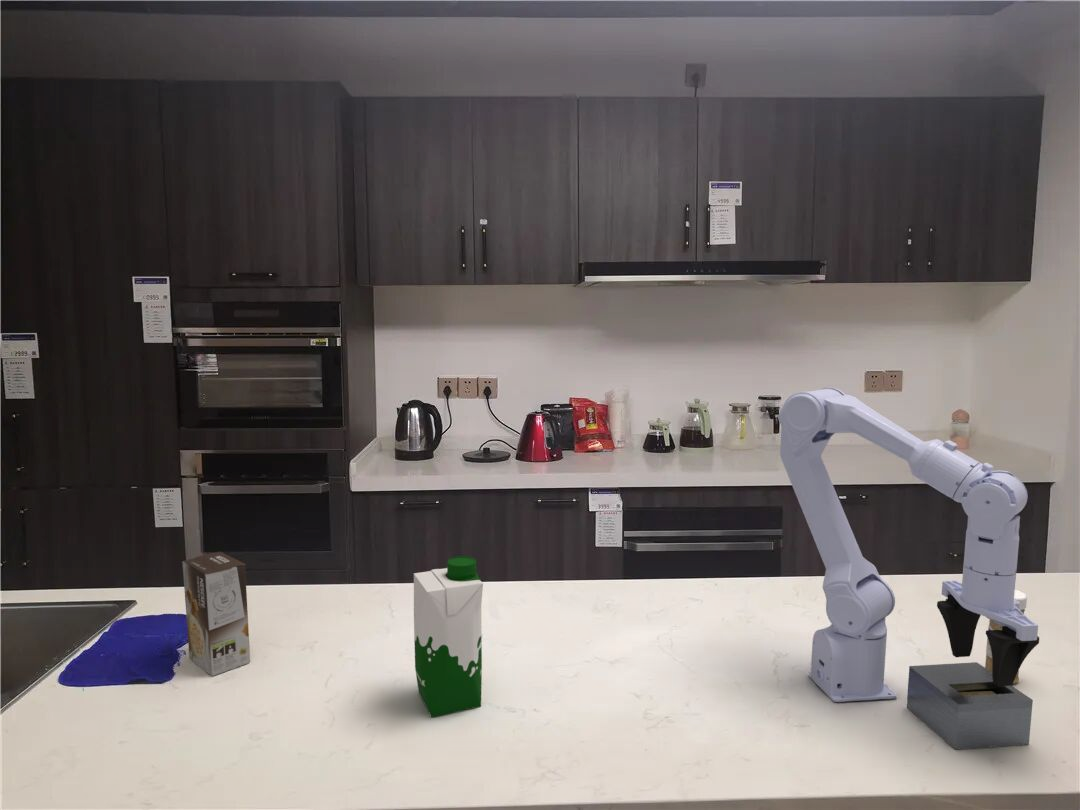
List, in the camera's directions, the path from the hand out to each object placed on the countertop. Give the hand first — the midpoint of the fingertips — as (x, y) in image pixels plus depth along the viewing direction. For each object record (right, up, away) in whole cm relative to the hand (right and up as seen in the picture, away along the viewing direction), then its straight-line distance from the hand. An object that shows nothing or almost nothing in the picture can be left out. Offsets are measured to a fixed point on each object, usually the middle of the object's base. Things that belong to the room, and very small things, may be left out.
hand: (981, 669), depth 94 cm
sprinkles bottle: (+12, -7, +15) cm, 20 cm away
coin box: (-1, -8, +2) cm, 9 cm away
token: (0, -9, +1) cm, 9 cm away
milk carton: (-70, -8, +9) cm, 71 cm away
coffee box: (-107, -6, +20) cm, 109 cm away
